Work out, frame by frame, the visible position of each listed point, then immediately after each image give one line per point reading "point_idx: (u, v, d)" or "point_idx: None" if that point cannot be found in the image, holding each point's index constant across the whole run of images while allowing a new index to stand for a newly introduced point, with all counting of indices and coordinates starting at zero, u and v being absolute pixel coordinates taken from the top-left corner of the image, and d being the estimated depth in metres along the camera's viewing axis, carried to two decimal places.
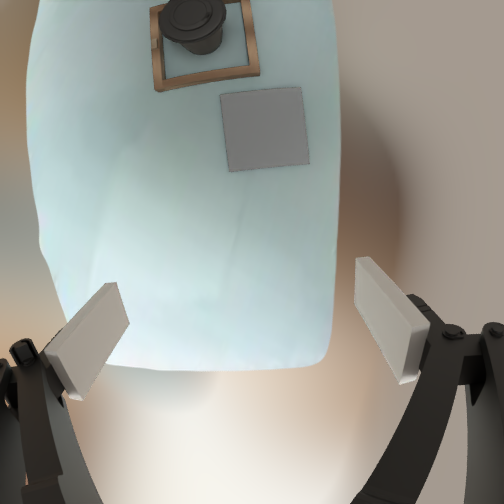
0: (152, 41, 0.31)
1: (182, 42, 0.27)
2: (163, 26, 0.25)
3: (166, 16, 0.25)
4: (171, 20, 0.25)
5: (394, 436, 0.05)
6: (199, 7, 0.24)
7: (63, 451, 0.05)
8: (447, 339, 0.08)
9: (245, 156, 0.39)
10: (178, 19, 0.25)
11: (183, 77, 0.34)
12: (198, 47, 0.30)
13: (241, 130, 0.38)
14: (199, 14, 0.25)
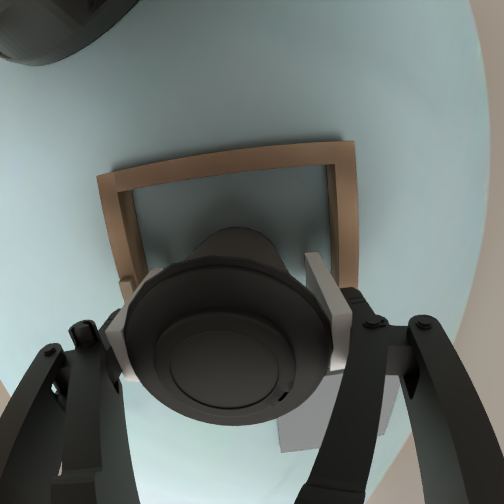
0: (123, 287, 0.17)
1: None
2: (148, 385, 0.11)
3: (147, 360, 0.10)
4: (167, 386, 0.10)
5: (328, 427, 0.06)
6: (254, 362, 0.10)
7: (107, 444, 0.06)
8: (369, 329, 0.09)
9: (304, 441, 0.24)
10: (190, 388, 0.10)
11: None
12: None
13: (303, 420, 0.23)
14: (255, 384, 0.10)
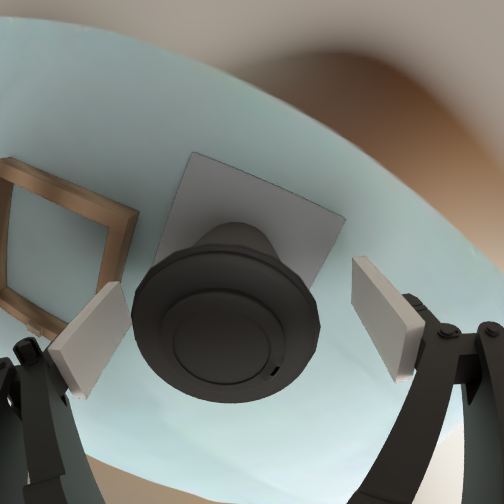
0: (30, 329, 0.21)
1: None
2: (153, 365, 0.12)
3: (152, 340, 0.11)
4: (170, 363, 0.11)
5: (390, 435, 0.05)
6: (247, 337, 0.11)
7: (66, 450, 0.05)
8: (442, 338, 0.08)
9: None
10: (191, 364, 0.11)
11: None
12: None
13: None
14: (249, 359, 0.11)
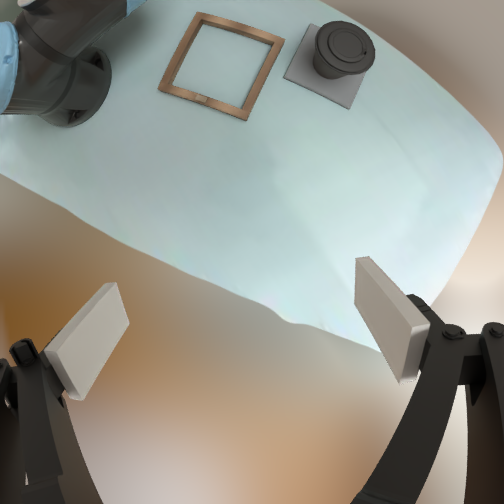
0: (198, 98, 0.38)
1: (341, 72, 0.30)
2: (323, 52, 0.29)
3: (324, 42, 0.28)
4: (332, 47, 0.28)
5: (394, 436, 0.05)
6: (355, 41, 0.28)
7: (63, 451, 0.05)
8: (447, 339, 0.08)
9: (344, 90, 0.39)
10: (338, 49, 0.28)
11: (252, 92, 0.38)
12: (340, 75, 0.34)
13: (323, 80, 0.38)
14: (356, 49, 0.28)
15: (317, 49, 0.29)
